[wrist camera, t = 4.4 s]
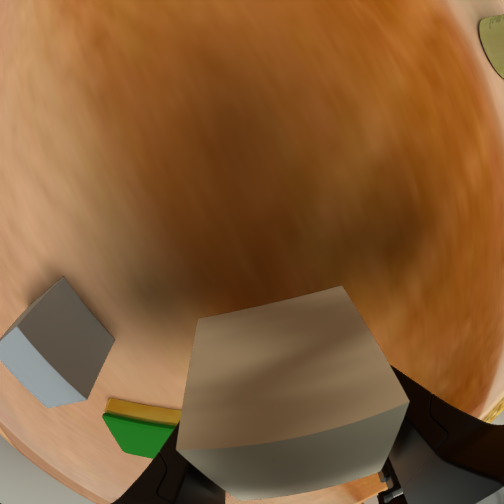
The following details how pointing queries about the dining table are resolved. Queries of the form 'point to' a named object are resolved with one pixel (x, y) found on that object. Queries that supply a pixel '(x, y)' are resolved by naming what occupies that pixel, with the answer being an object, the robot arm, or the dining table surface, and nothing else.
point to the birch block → (289, 398)
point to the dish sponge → (140, 426)
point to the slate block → (56, 347)
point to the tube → (493, 41)
